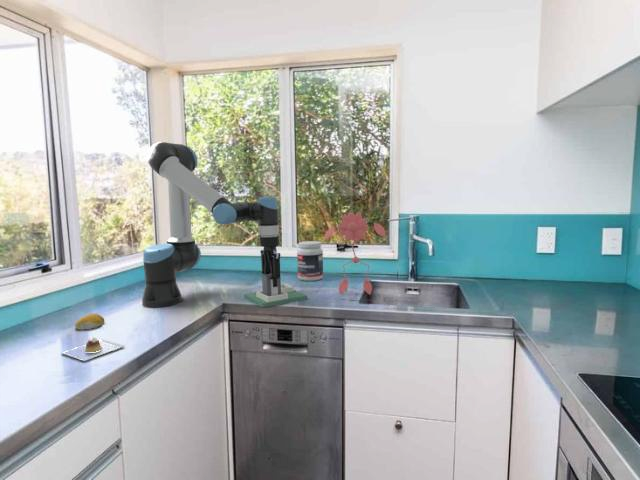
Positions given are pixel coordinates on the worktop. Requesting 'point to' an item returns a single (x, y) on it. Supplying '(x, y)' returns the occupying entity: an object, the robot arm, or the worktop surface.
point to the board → (276, 297)
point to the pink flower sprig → (354, 231)
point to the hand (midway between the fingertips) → (271, 293)
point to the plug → (269, 284)
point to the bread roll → (89, 322)
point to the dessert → (94, 347)
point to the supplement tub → (310, 261)
